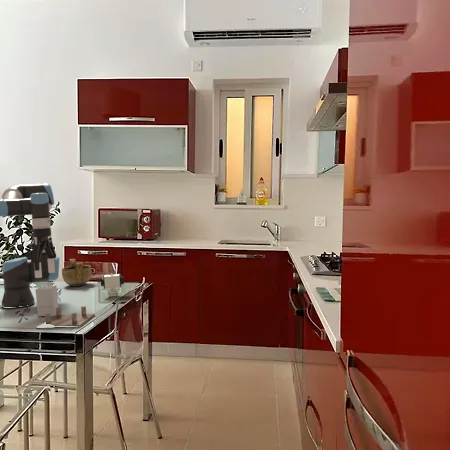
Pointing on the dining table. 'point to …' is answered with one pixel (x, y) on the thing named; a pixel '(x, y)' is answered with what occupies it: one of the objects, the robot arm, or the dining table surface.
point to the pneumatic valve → (112, 283)
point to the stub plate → (68, 318)
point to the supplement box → (46, 300)
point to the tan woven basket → (76, 273)
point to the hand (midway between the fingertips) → (45, 275)
